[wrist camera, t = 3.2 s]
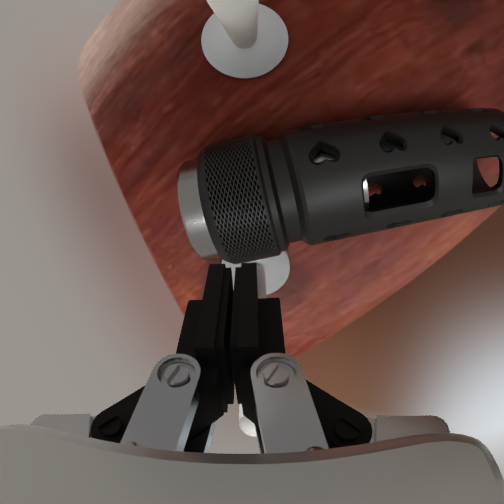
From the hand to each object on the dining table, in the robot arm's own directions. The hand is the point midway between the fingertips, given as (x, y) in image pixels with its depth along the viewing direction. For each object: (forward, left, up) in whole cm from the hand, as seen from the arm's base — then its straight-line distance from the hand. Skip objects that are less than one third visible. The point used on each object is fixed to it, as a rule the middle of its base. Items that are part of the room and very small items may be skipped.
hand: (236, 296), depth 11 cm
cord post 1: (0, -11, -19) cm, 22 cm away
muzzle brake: (-10, 0, -20) cm, 22 cm away
